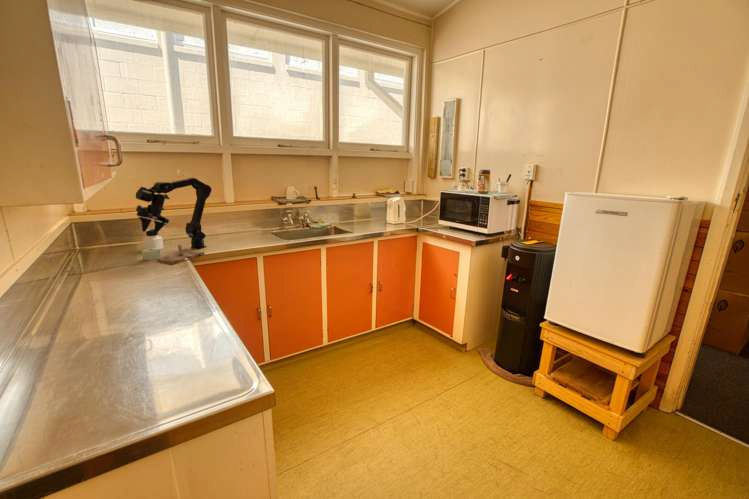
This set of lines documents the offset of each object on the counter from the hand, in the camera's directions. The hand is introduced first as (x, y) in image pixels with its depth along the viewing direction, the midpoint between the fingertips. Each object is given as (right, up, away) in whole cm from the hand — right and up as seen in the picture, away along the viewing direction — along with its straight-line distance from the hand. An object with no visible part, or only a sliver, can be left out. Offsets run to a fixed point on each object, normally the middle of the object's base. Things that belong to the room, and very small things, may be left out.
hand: (149, 232), depth 186 cm
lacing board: (+14, -14, +6) cm, 20 cm away
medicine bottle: (-11, -9, +22) cm, 26 cm away
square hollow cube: (-1, -14, +4) cm, 15 cm away
